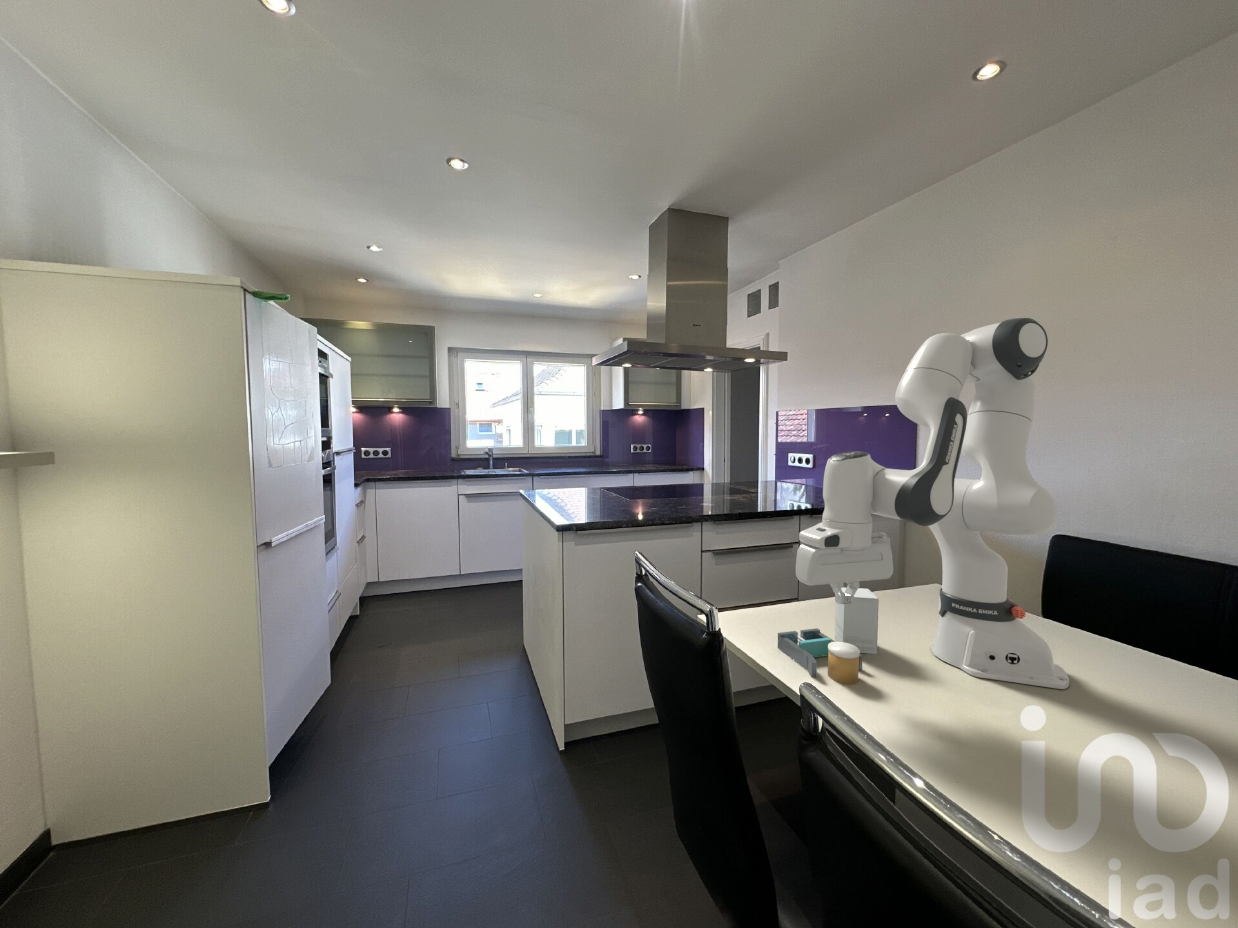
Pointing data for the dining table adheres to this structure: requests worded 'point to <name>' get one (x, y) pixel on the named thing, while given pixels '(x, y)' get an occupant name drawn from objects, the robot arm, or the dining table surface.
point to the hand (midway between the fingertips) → (844, 602)
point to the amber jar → (843, 662)
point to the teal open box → (815, 646)
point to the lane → (791, 648)
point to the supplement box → (858, 621)
